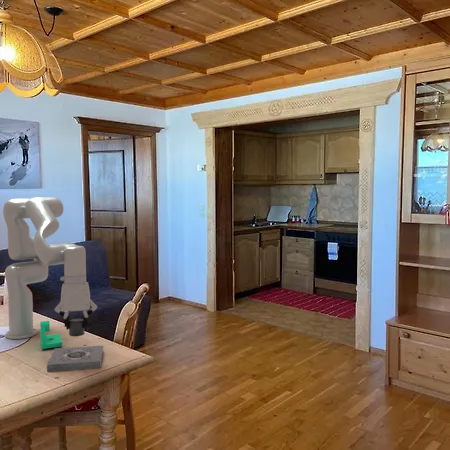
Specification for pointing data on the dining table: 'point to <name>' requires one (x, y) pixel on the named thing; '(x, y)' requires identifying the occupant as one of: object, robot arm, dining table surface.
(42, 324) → the camera mount
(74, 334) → the dark gray cylinder
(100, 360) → the mount plate
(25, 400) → the dining table surface
